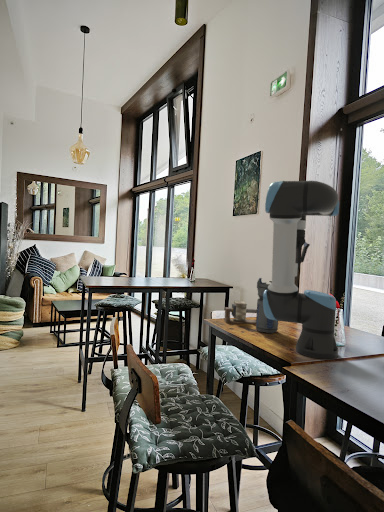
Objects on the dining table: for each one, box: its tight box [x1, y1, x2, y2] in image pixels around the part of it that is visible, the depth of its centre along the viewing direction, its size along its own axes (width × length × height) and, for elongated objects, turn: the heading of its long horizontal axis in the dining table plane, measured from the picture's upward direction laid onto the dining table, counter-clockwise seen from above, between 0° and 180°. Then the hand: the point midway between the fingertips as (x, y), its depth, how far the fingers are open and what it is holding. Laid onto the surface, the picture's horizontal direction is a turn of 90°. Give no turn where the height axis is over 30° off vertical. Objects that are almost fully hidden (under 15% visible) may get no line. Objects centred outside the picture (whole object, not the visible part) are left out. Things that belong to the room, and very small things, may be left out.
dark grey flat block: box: [231, 303, 236, 318], centre depth 180 cm, size 1×6×6 cm, turn 2°
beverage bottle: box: [255, 277, 279, 334], centre depth 162 cm, size 10×13×25 cm
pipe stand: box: [223, 306, 257, 325], centre depth 180 cm, size 22×7×7 cm, turn 93°
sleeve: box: [233, 300, 247, 321], centre depth 180 cm, size 5×9×9 cm, turn 3°
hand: (294, 276), depth 173 cm, fingers closed
